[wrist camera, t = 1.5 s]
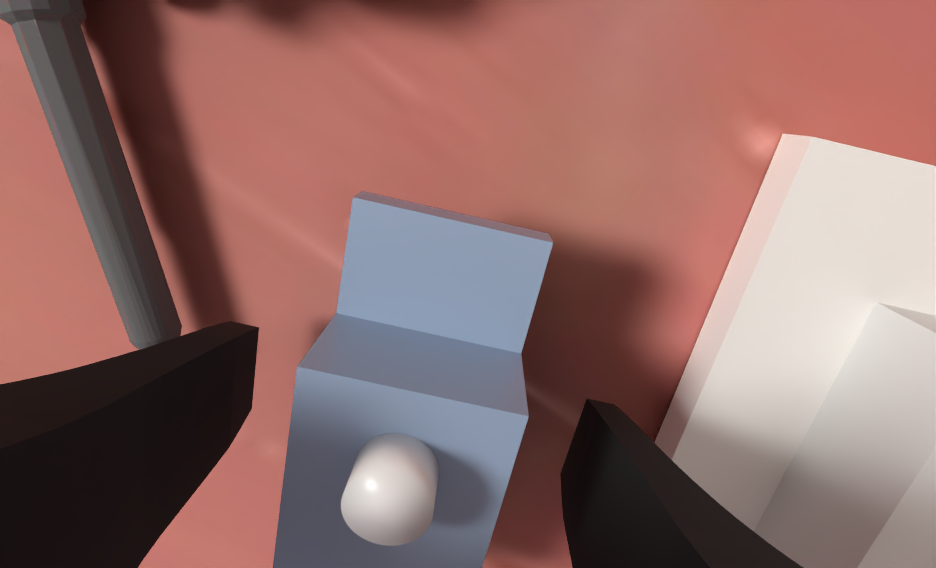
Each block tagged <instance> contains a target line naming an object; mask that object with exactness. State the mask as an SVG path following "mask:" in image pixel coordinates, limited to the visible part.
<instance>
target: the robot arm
mask: <svg viewBox="0 0 936 568" xmlns="http://www.w3.org/2000/svg"><path fill="white" fill-rule="evenodd" d="M258 332H259V327H254V326H250V325H245V324H240V323H236V322H231V321H230V322H225V323H221V324H217V325H214V326H211V327H207V328H204V329H201V330H198V331H195V332H192V333H189V334H186V335H183V336H180V337H177V338H174V339H171V340H168V341H165V342H162V343H159V344H156V345H153V346H150V347H147V348H144V349H140V350H137V351H134V352H130V353H127V354H123V355H120V356H116V357H113V358H110V359H106V360H103V361H99V362H96V363H92V364H89V365H86V366H82V367H78V368H74V369H70V370H66V371H62V372H58V373H53V374H49V375H44V376H40V377H35V378H30V379H26V380H21V381H16V382H11V383H6V384H0V568H138V566H139V565H140V563H141V562H142V560H143V559H144V557H145V556H146V555H147V553H148V552H149V550H150V549H151V548H152V546H153V545H154V544H155V542H156V541H157V539H158V538H159V537H160V535H161V534H162V533H163V532H164V530H165V529H166V528H167V526H168V525H169V524H170V523H171V521H172V520H173V519H174V518H175V516H176V515H177V514H178V512H179V511H180V510H181V509H182V507H183V506H184V505H185V504H186V502H187V501H188V500H189V498H190V497H191V496H192V495H193V493H194V492H195V491H196V490H197V488H198V487H199V486H200V484H201V483H202V482H203V481H204V479H205V478H206V477H207V476H208V474H209V473H210V472H211V470H212V469H213V468H214V466H215V465H216V464H217V463H218V461H219V460H220V459H221V457H222V456H223V455H224V453H225V452H226V451H227V449H228V448H229V447H230V445H231V443H232V442H233V440H234V438H235V437H236V435H237V433H238V432H239V430H240V428H241V426H242V425H243V423H244V421H245V419H246V418H247V416H248V414H249V412H250V410H251V409H252V399H253V388H254V376H255V365H256V354H257V343H258ZM561 492H562V508H563V519H564V524H565V530H566V535H567V540H568V545H569V550H570V556H571V561H572V566H573V568H803V567H802V566H800V565H799V564H798V563H796V562H795V561H793V560H792V559H790V558H789V557H787V556H786V555H785V554H783V553H782V552H780V551H779V550H778V549H776V548H775V547H773V546H772V545H771V544H769V543H768V542H767V541H765V540H764V539H763V538H762V537H760V536H759V535H758V534H756V533H755V532H754V531H753V530H751V529H750V528H749V527H747V526H746V525H745V524H744V523H742V522H741V521H740V520H738V519H737V518H736V517H735V516H733V515H732V514H731V513H730V512H729V511H727V510H726V509H725V508H724V507H723V506H721V505H720V504H719V503H718V502H717V501H716V500H715V499H713V498H712V497H711V496H710V495H709V494H708V493H707V492H706V491H704V490H703V489H702V488H701V487H700V486H699V485H698V484H697V483H695V482H694V481H693V480H692V479H691V478H690V477H689V476H688V475H687V474H686V473H685V472H684V471H683V470H682V469H680V468H679V467H678V466H677V465H676V464H675V463H674V462H673V461H672V460H671V459H670V458H669V457H668V456H667V455H666V454H665V453H664V452H663V451H662V450H661V449H660V448H659V447H658V446H657V445H656V444H655V443H654V442H653V441H652V440H651V439H650V438H649V437H648V436H647V435H646V434H645V433H644V432H643V431H642V430H641V429H640V428H639V427H638V426H637V425H636V424H635V423H634V422H633V421H632V420H631V419H630V418H629V417H628V416H627V415H626V414H625V413H624V412H622V411H621V410H620V409H619V408H618V407H617V406H615V405H614V404H609V403H605V402H600V401H595V400H591V399H587V400H586V403H585V405H584V408H583V411H582V414H581V417H580V420H579V423H578V425H577V428H576V431H575V434H574V437H573V440H572V443H571V445H570V448H569V451H568V454H567V457H566V460H565V463H564V465H563V468H562V471H561Z"/></svg>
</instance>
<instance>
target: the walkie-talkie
mask: <svg viewBox="0 0 936 568" xmlns="http://www.w3.org/2000/svg"><path fill="white" fill-rule="evenodd" d="M86 17H87V14H86V11H85V8H84V5H83V2H82V0H0V19H2V20H4V21H5V22H7V23H9V24H10V25H11V26H12V29H13V31H14V34H15V37H16V39H17V42H18V45H19V47H20V50H21V53H22V55H23V58H24V61H25V63H26V66H27V69H28V71H29V74H30V76H31V79H32V82H33V84H34V87H35V90H36V92H37V95H38V98H39V100H40V103H41V106H42V108H43V111H44V114H45V116H46V119H47V122H48V124H49V127H50V130H51V132H52V135H53V138H54V140H55V143H56V146H57V148H58V151H59V154H60V156H61V159H62V162H63V164H64V167H65V170H66V172H67V175H68V178H69V180H70V183H71V186H72V188H73V191H74V194H75V196H76V199H77V201H78V204H79V207H80V209H81V212H82V215H83V217H84V220H85V223H86V225H87V228H88V231H89V233H90V236H91V239H92V241H93V244H94V247H95V249H96V252H97V255H98V257H99V260H100V263H101V265H102V268H103V271H104V273H105V276H106V279H107V281H108V284H109V287H110V289H111V292H112V295H113V297H114V300H115V303H116V305H117V308H118V311H119V313H120V316H121V319H122V321H123V324H124V326H125V329H126V332H127V334H128V337H129V340H130V342H131V343H132V344H133V345H134V346H135V347H136V348H138V349H139V350H140V349H144V348H147V347H150V346H153V345H156V344H159V343H162V342H165V341H168V340H171V339H174V338H177V337H180V335H181V327H182V325H181V322H180V320H179V317H178V314H177V311H176V308H175V305H174V302H173V299H172V296H171V293H170V290H169V287H168V284H167V281H166V278H165V275H164V272H163V269H162V266H161V263H160V260H159V257H158V254H157V251H156V248H155V246H154V243H153V240H152V237H151V234H150V231H149V228H148V225H147V222H146V219H145V216H144V213H143V210H142V207H141V204H140V201H139V198H138V195H137V192H136V189H135V186H134V183H133V180H132V177H131V174H130V171H129V169H128V166H127V163H126V160H125V157H124V154H123V151H122V148H121V145H120V142H119V139H118V136H117V133H116V130H115V127H114V124H113V121H112V118H111V115H110V112H109V109H108V106H107V103H106V100H105V97H104V94H103V92H102V89H101V86H100V83H99V80H98V77H97V74H96V71H95V68H94V65H93V62H92V59H91V56H90V53H89V50H88V47H87V44H86V41H85V38H84V35H83V32H82V29H81V26H80V25H81V24H82V23H83V21H84V20H85V19H86Z"/></svg>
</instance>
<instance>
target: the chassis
mask: <svg viewBox="0 0 936 568" xmlns="http://www.w3.org/2000/svg"><path fill="white" fill-rule="evenodd" d="M654 443H655V444H656V445H657V446H658V447H659V448H660V449H661V450H662V451H663V452H664V453H665V454H666V455H667V456H668V457H669V458H670V459H671V460H672V461H673V462H674V463H675V464H676V465H677V466H678V467H679V468H680V469H682V470H683V471H684V472H685V473H686V474H687V475H688V476H689V477H690V478H691V479H692V480H693V481H694V482H695V483H697V484H698V485H699V486H700V487H701V488H702V489H703V490H704V491H706V492H707V493H708V494H709V495H710V496H711V497H712V498H713V499H715V500H716V501H717V502H718V503H719V504H720V505H721V506H723V507H724V508H725V509H726V510H727V511H729V512H730V513H731V514H732V515H733V516H735V517H736V518H737V519H738V520H740V521H741V522H742V523H744V524H745V525H746V526H747V527H749V528H750V529H751V530H753V531H754V532H755V533H756V534H758V535H759V536H760V537H762V538H763V539H764V540H765V541H767V542H768V543H769V544H771V545H772V546H773V547H775V548H776V549H778V550H779V551H780V552H782V553H783V554H785V555H786V556H787V557H789V558H790V559H792V560H793V561H795V562H796V563H798V564H799V565H800V566H802V567H803V568H936V166H933V165H929V164H924V163H920V162H916V161H912V160H908V159H903V158H899V157H895V156H891V155H887V154H882V153H878V152H874V151H870V150H866V149H862V148H857V147H853V146H849V145H845V144H841V143H836V142H832V141H828V140H824V139H820V138H815V137H810V136H801V135H792V134H783V135H782V137H781V140H780V142H779V144H778V147H777V149H776V152H775V154H774V156H773V159H772V161H771V164H770V166H769V168H768V171H767V173H766V176H765V178H764V180H763V183H762V185H761V188H760V190H759V192H758V195H757V197H756V200H755V202H754V204H753V207H752V209H751V212H750V214H749V216H748V219H747V221H746V224H745V226H744V228H743V231H742V233H741V236H740V238H739V240H738V243H737V245H736V248H735V250H734V252H733V255H732V257H731V260H730V262H729V264H728V267H727V269H726V272H725V274H724V276H723V279H722V281H721V284H720V286H719V288H718V291H717V293H716V296H715V298H714V300H713V303H712V305H711V308H710V310H709V312H708V315H707V317H706V320H705V322H704V324H703V327H702V329H701V332H700V334H699V337H698V339H697V341H696V344H695V346H694V349H693V351H692V353H691V356H690V358H689V361H688V363H687V365H686V368H685V370H684V373H683V375H682V377H681V380H680V382H679V385H678V387H677V389H676V392H675V394H674V397H673V399H672V401H671V404H670V406H669V409H668V411H667V413H666V416H665V418H664V421H663V423H662V425H661V428H660V430H659V433H658V435H657V437H656V440H655V442H654Z"/></svg>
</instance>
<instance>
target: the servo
mask: <svg viewBox="0 0 936 568" xmlns="http://www.w3.org/2000/svg"><path fill="white" fill-rule="evenodd" d="M552 245H553V241H552V239H551V237H550V234H549V233H545V232H540V231H536V230H531V229H527V228H523V227H518V226H514V225H509V224H505V223H501V222H496V221H492V220H488V219H483V218H479V217H474V216H470V215H466V214H461V213H457V212H452V211H448V210H444V209H439V208H435V207H431V206H426V205H422V204H417V203H413V202H409V201H404V200H400V199H395V198H391V197H387V196H382V195H378V194H373V193H369V192H365V191H361V192H360V193H359V194H357V195H356V196H354V197H353V201H352V208H351V215H350V222H349V229H348V236H347V243H346V250H345V256H344V263H343V270H342V277H341V284H340V291H339V298H338V305H337V312H336V314H335V316H334V317H333V318H332V320H331V321H330V322H329V324H328V325H327V326H326V328H325V329H324V331H323V332H322V333H321V335H320V336H319V337H318V339H317V340H316V341H315V343H314V344H313V346H312V347H311V348H310V350H309V351H308V352H307V354H306V355H305V357H304V358H303V359H302V361H301V362H300V363H299V365H298V366H297V372H296V380H295V389H294V397H293V405H292V413H291V422H290V430H289V438H288V446H287V455H286V463H285V471H284V479H283V488H282V496H281V504H280V513H279V521H278V529H277V537H276V546H275V554H274V562H273V568H482V566H483V563H484V560H485V557H486V553H487V550H488V547H489V544H490V540H491V537H492V534H493V531H494V527H495V524H496V521H497V518H498V514H499V511H500V508H501V505H502V501H503V498H504V495H505V492H506V488H507V485H508V482H509V479H510V476H511V472H512V469H513V466H514V463H515V459H516V456H517V453H518V450H519V446H520V443H521V440H522V437H523V433H524V430H525V427H526V424H527V420H528V417H529V414H528V406H527V398H526V389H525V381H524V373H523V364H522V356H521V353H522V349H523V346H524V342H525V339H526V335H527V332H528V328H529V325H530V321H531V318H532V314H533V311H534V308H535V304H536V301H537V297H538V294H539V290H540V287H541V283H542V280H543V276H544V273H545V269H546V266H547V262H548V259H549V256H550V252H551V249H552Z"/></svg>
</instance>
